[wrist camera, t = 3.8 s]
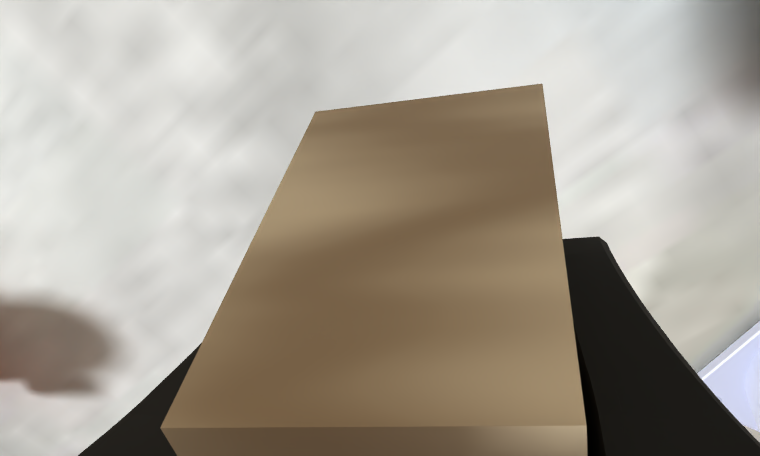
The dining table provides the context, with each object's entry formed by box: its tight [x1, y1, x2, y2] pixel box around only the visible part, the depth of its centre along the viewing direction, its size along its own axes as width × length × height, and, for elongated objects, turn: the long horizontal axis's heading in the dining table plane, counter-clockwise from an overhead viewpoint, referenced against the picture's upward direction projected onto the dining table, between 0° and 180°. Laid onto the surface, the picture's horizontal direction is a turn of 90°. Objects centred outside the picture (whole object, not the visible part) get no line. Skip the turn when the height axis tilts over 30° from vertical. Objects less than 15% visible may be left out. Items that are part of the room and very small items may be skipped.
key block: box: [160, 84, 587, 456], centre depth 9 cm, size 4×5×6 cm
